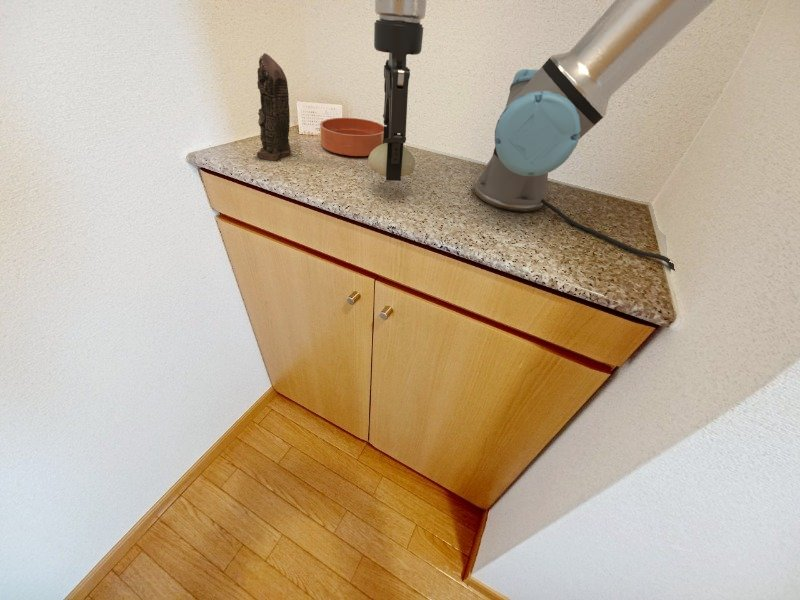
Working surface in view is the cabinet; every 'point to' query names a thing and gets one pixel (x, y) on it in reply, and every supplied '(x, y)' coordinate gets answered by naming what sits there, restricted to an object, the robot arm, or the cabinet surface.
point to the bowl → (351, 136)
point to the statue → (273, 110)
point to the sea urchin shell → (379, 160)
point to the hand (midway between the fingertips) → (390, 170)
